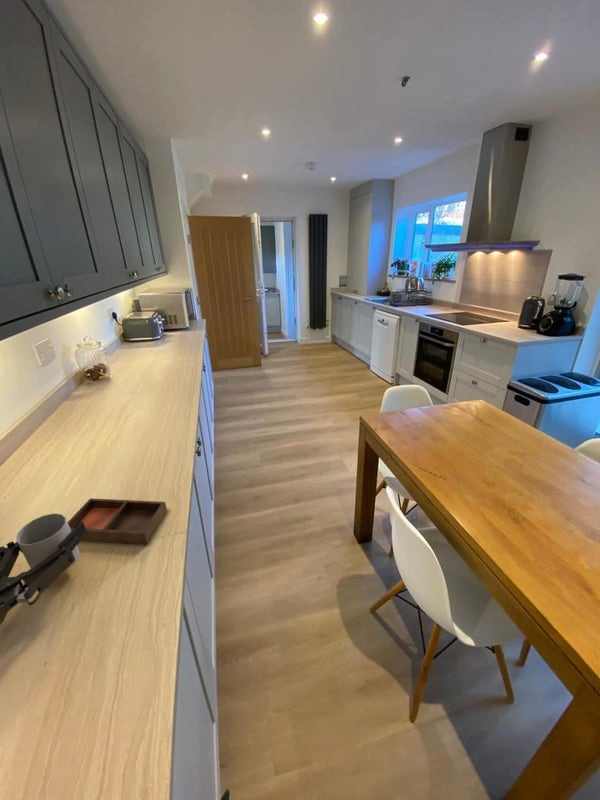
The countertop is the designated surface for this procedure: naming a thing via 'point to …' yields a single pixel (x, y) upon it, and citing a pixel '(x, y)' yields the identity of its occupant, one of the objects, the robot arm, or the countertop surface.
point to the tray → (119, 520)
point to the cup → (44, 538)
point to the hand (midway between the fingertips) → (64, 525)
